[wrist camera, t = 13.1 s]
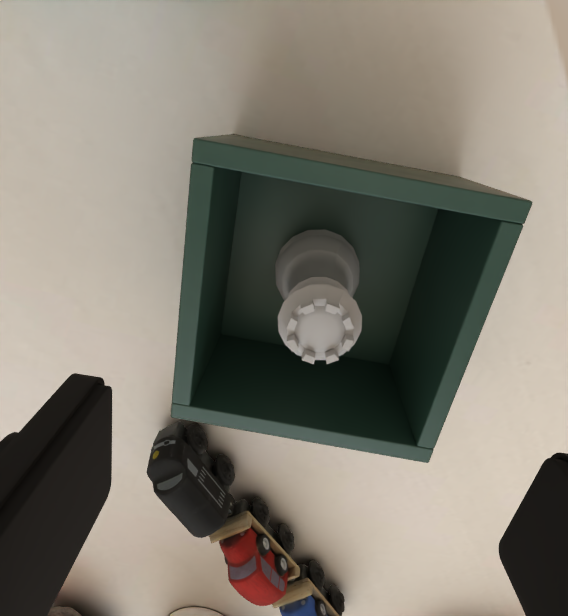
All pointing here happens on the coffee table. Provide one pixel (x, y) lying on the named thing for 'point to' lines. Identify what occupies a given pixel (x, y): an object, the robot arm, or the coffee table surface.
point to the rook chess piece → (318, 295)
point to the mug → (195, 612)
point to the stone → (63, 611)
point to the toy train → (236, 526)
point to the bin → (369, 297)
